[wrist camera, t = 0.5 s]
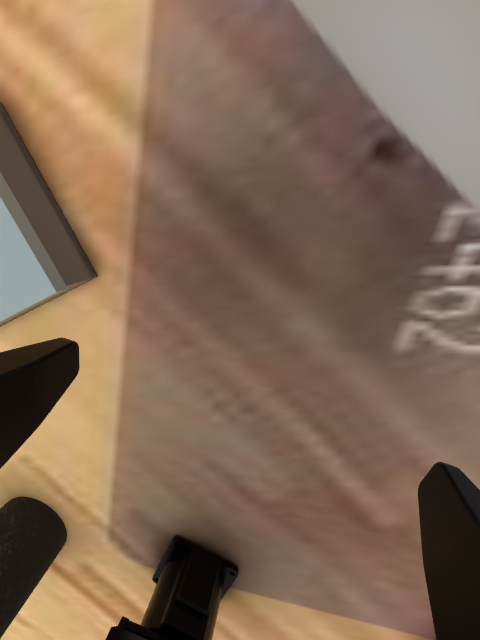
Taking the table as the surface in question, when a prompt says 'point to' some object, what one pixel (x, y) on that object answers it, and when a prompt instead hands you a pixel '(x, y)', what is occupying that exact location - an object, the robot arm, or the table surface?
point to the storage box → (41, 210)
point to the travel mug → (25, 552)
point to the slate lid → (22, 261)
